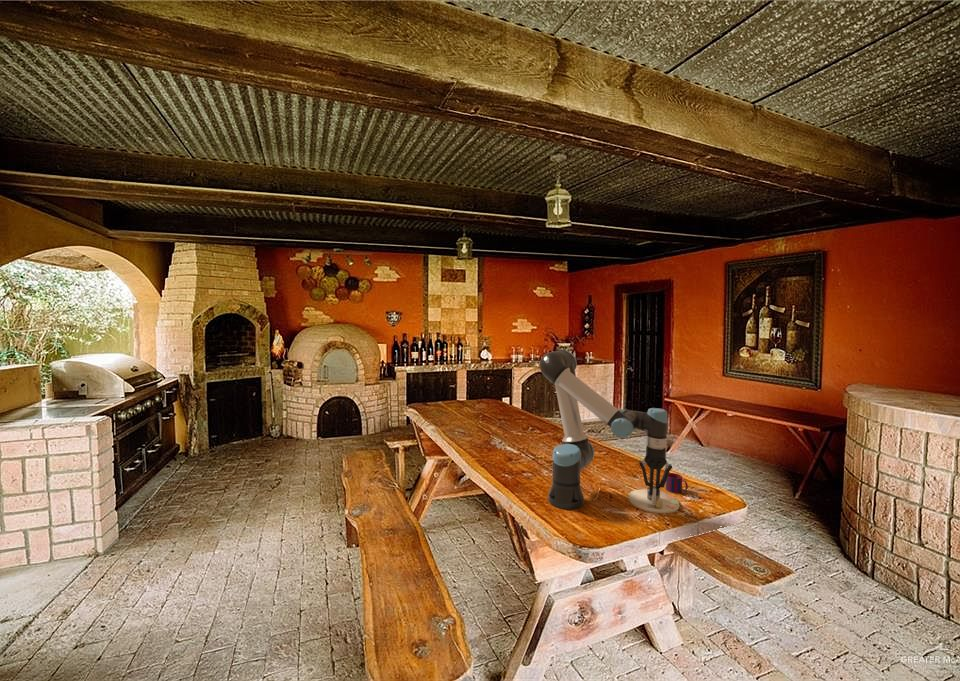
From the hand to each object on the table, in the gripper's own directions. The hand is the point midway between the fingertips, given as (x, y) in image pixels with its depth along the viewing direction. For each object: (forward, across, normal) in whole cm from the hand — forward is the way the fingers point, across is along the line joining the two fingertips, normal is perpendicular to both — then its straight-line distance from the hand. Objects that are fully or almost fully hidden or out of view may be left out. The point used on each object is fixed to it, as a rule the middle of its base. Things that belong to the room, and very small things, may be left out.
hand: (653, 502), depth 173 cm
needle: (+1, +1, +3) cm, 4 cm away
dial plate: (+3, +1, +7) cm, 8 cm away
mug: (+3, +13, +22) cm, 25 cm away
